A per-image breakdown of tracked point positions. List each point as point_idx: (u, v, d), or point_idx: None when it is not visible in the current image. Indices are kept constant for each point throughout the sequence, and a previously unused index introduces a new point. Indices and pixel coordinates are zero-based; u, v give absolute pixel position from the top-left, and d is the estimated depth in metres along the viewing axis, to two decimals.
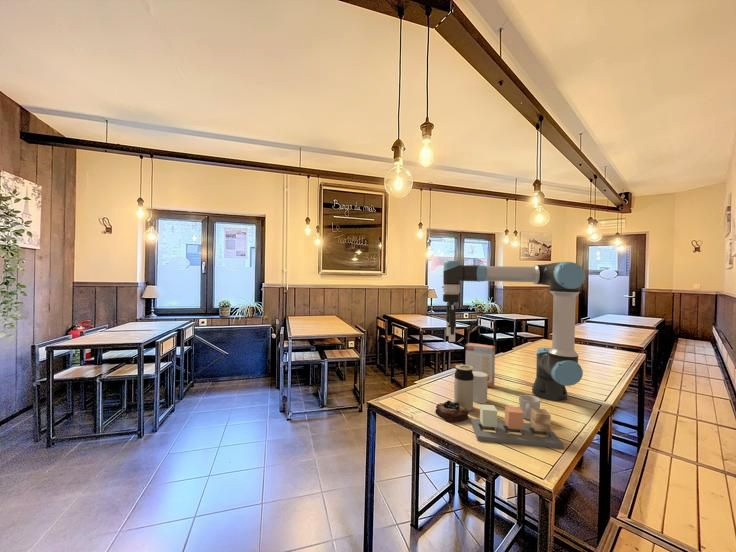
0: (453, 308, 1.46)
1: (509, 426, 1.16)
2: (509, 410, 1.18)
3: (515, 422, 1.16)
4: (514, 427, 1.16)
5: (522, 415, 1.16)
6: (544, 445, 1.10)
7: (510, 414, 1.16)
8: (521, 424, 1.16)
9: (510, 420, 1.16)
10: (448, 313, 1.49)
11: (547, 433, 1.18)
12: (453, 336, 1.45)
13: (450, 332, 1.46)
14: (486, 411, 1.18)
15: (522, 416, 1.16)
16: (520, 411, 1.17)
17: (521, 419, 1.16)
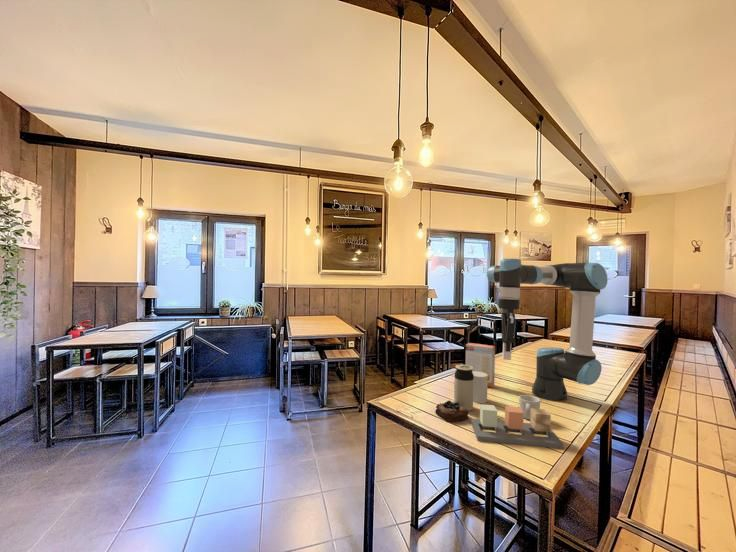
0: (512, 322, 1.20)
1: (509, 426, 1.16)
2: (509, 410, 1.18)
3: (515, 422, 1.16)
4: (514, 427, 1.16)
5: (522, 415, 1.16)
6: (544, 445, 1.10)
7: (510, 414, 1.16)
8: (521, 424, 1.16)
9: (510, 420, 1.16)
10: (504, 324, 1.24)
11: (547, 433, 1.18)
12: (509, 353, 1.25)
13: (505, 349, 1.25)
14: (486, 411, 1.18)
15: (522, 416, 1.16)
16: (520, 411, 1.17)
17: (521, 419, 1.16)
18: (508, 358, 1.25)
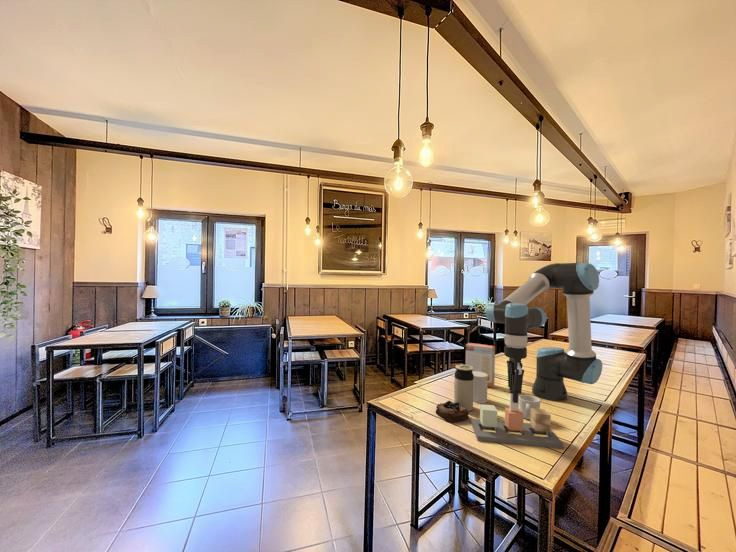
0: (521, 374, 1.13)
1: (509, 427, 1.16)
2: (509, 411, 1.18)
3: (515, 423, 1.16)
4: (514, 428, 1.16)
5: (522, 416, 1.16)
6: (544, 445, 1.10)
7: (510, 415, 1.16)
8: (521, 425, 1.16)
9: (510, 421, 1.16)
10: (511, 374, 1.17)
11: (547, 433, 1.18)
12: (516, 404, 1.18)
13: (512, 399, 1.18)
14: (486, 411, 1.18)
15: (522, 417, 1.16)
16: (520, 412, 1.17)
17: (521, 420, 1.16)
18: (516, 409, 1.18)
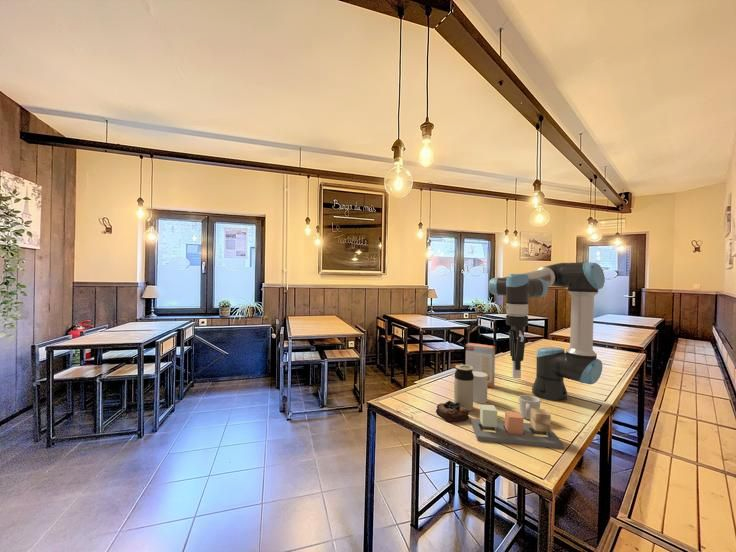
0: (522, 341, 1.16)
1: (509, 431, 1.16)
2: (509, 415, 1.18)
3: (515, 427, 1.16)
4: (514, 432, 1.16)
5: (522, 420, 1.16)
6: (544, 445, 1.10)
7: (510, 419, 1.16)
8: (521, 429, 1.16)
9: (510, 425, 1.16)
10: (513, 342, 1.20)
11: (547, 433, 1.18)
12: (518, 371, 1.21)
13: (515, 367, 1.21)
14: (486, 411, 1.18)
15: (522, 421, 1.16)
16: (520, 416, 1.17)
17: (521, 424, 1.16)
18: (518, 376, 1.21)
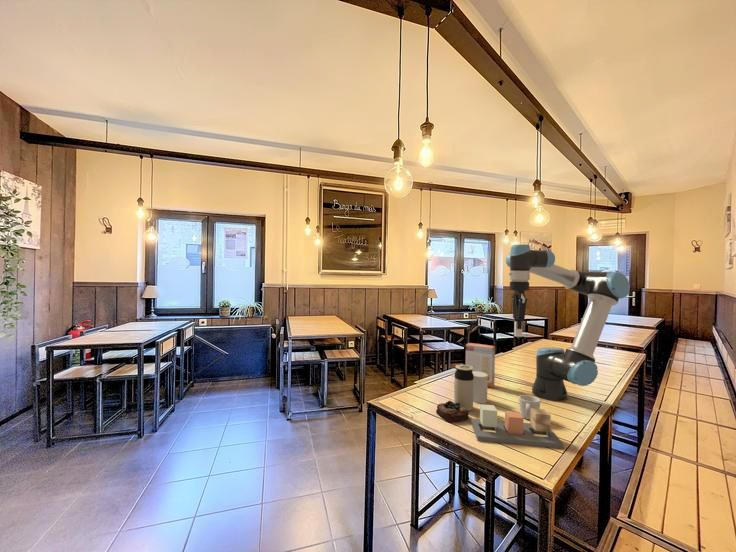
0: (524, 302, 1.32)
1: (509, 431, 1.16)
2: (509, 415, 1.18)
3: (515, 427, 1.16)
4: (514, 432, 1.16)
5: (522, 420, 1.16)
6: (544, 445, 1.10)
7: (510, 419, 1.16)
8: (521, 429, 1.16)
9: (510, 425, 1.16)
10: (516, 304, 1.36)
11: (547, 433, 1.18)
12: (520, 331, 1.37)
13: (517, 326, 1.37)
14: (486, 411, 1.18)
15: (522, 421, 1.16)
16: (520, 416, 1.17)
17: (521, 424, 1.16)
18: (520, 335, 1.37)
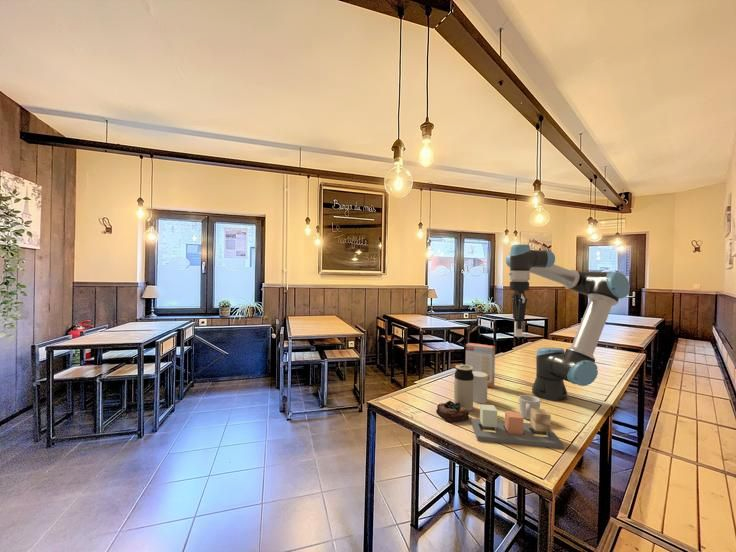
0: (524, 302, 1.32)
1: (509, 431, 1.16)
2: (509, 415, 1.18)
3: (515, 427, 1.16)
4: (514, 432, 1.16)
5: (522, 420, 1.16)
6: (544, 445, 1.10)
7: (510, 419, 1.16)
8: (521, 429, 1.16)
9: (510, 425, 1.16)
10: (516, 304, 1.36)
11: (547, 433, 1.18)
12: (520, 331, 1.37)
13: (517, 326, 1.37)
14: (486, 411, 1.18)
15: (522, 421, 1.16)
16: (520, 416, 1.17)
17: (521, 424, 1.16)
18: (520, 335, 1.37)
